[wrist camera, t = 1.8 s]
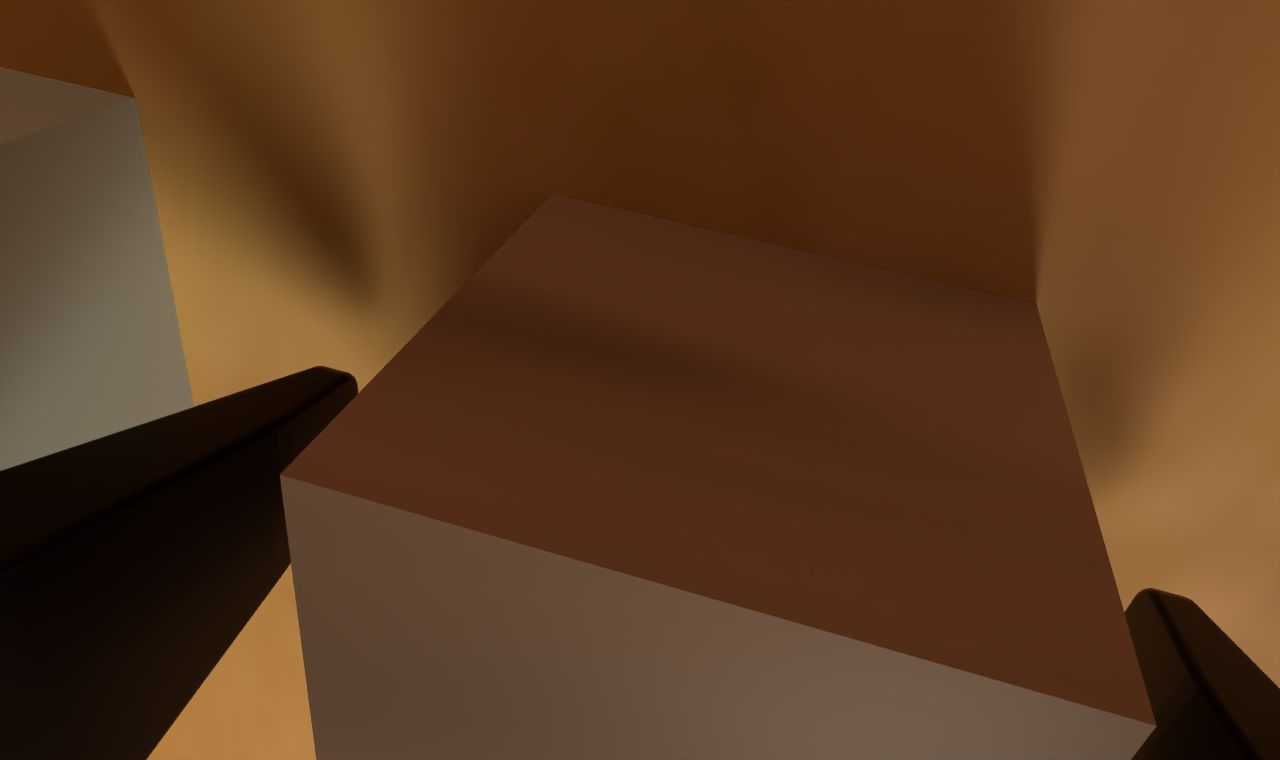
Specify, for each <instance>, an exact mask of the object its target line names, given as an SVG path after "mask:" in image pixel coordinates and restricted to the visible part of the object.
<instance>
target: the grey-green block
mask: <svg viewBox="0 0 1280 760" xmlns="http://www.w3.org/2000/svg"><path fill="white" fill-rule="evenodd" d="M192 407H194V403H193V398H192V393H191V388H190V382H189V377H188V372H187V366H186V361H185V356H184V351H183V345H182V340H181V335H180V330H179V324H178V319H177V314H176V309H175V303H174V298H173V293H172V287H171V282H170V277H169V272H168V266H167V261H166V256H165V251H164V245H163V240H162V235H161V229H160V224H159V219H158V214H157V208H156V203H155V198H154V193H153V187H152V182H151V177H150V172H149V166H148V161H147V156H146V150H145V145H144V140H143V135H142V129H141V124H140V119H139V114H138V108H137V103H136V98H134V97H130V96H125V95H121V94H117V93H112V92H108V91H103V90H99V89H95V88H90V87H86V86H82V85H77V84H73V83H68V82H64V81H60V80H55V79H51V78H47V77H42V76H38V75H33V74H29V73H25V72H20V71H16V70H12V69H7V68H3V67H0V471H1V470H4V469H7V468H10V467H13V466H16V465H19V464H22V463H25V462H28V461H31V460H34V459H38V458H41V457H44V456H47V455H50V454H53V453H56V452H59V451H62V450H65V449H68V448H71V447H74V446H77V445H80V444H83V443H86V442H89V441H92V440H95V439H98V438H101V437H104V436H107V435H110V434H113V433H116V432H119V431H122V430H125V429H128V428H131V427H134V426H137V425H140V424H143V423H146V422H149V421H152V420H155V419H159V418H162V417H165V416H168V415H171V414H174V413H177V412H180V411H183V410H186V409H189V408H192Z"/></svg>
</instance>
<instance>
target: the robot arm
mask: <svg viewBox="0 0 1280 760" xmlns="http://www.w3.org/2000/svg"><path fill="white" fill-rule="evenodd" d="M357 395H358V385H357V381H356V379H355V377H354V376H353V375H351V374H350V373H347V372H344V371H340V370H336V369H333V368H329V367H324V366H316V367H313V368H310V369H307V370H304V371H301V372H298V373H295V374H292V375H289V376H285V377H282V378H279V379H276V380H273V381H270V382H267V383H264V384H261V385H258V386H255V387H252V388H249V389H246V390H243V391H240V392H237V393H234V394H231V395H228V396H225V397H222V398H219V399H216V400H213V401H210V402H207V403H204V404H201V405H198V406H195V407H192V408H189V409H186V410H183V411H180V412H177V413H174V414H171V415H168V416H165V417H162V418H159V419H155V420H152V421H149V422H146V423H143V424H140V425H137V426H134V427H131V428H128V429H125V430H122V431H119V432H116V433H113V434H110V435H107V436H104V437H101V438H98V439H95V440H92V441H89V442H86V443H83V444H80V445H77V446H74V447H71V448H68V449H65V450H62V451H59V452H56V453H53V454H50V455H47V456H44V457H41V458H38V459H34V460H31V461H28V462H25V463H22V464H19V465H16V466H13V467H10V468H7V469H4V470H1V471H0V760H147V758H148V757H149V755H150V754H151V753H152V751H153V750H154V749H155V747H156V746H157V745H158V743H159V742H160V741H161V739H162V738H163V736H164V735H165V734H166V732H167V731H168V730H169V728H170V727H171V726H172V724H173V723H174V721H175V720H176V719H177V717H178V716H179V715H180V713H181V712H182V711H183V709H184V708H185V707H186V705H187V704H188V702H189V701H190V700H191V698H192V697H193V696H194V694H195V693H196V692H197V690H198V689H199V688H200V686H201V685H202V683H203V682H204V681H205V679H206V678H207V677H208V675H209V674H210V673H211V671H212V670H213V669H214V667H215V666H216V664H217V663H218V662H219V660H220V659H221V658H222V656H223V655H224V654H225V652H226V651H227V650H228V648H229V647H230V645H231V644H232V643H233V641H234V640H235V639H236V637H237V636H238V635H239V633H240V632H241V631H242V629H243V628H244V626H245V625H246V624H247V622H248V621H249V620H250V618H251V617H252V616H253V614H254V613H255V612H256V610H257V609H258V607H259V606H260V605H261V603H262V602H263V601H264V599H265V598H266V597H267V595H268V594H269V593H270V591H271V590H272V588H273V587H274V586H275V584H276V583H277V582H278V580H279V579H280V578H281V576H282V575H283V573H284V572H285V570H286V569H287V568H288V566H289V565H290V563H291V558H290V550H289V543H288V535H287V527H286V519H285V512H284V504H283V496H282V488H281V481H280V474H281V473H282V472H283V471H284V470H285V469H286V468H287V467H288V466H289V465H290V464H291V463H292V462H293V461H294V460H295V459H296V458H297V457H298V455H299V454H300V453H301V452H302V451H303V450H304V449H305V448H306V447H307V446H308V445H309V444H310V443H311V442H312V441H313V440H314V439H315V438H316V437H317V436H318V435H319V434H320V433H321V432H322V431H323V430H324V429H325V428H326V427H327V426H328V425H329V424H330V422H331V421H332V420H333V419H334V418H335V417H336V416H337V415H338V414H339V413H340V412H341V411H342V410H343V409H344V408H345V407H346V406H347V405H348V404H349V403H350V402H351V401H352V400H353V399H354V398H355V397H356V396H357ZM1124 614H1125V617H1126V621H1127V624H1128V628H1129V631H1130V635H1131V638H1132V642H1133V645H1134V649H1135V652H1136V656H1137V659H1138V663H1139V666H1140V670H1141V673H1142V677H1143V680H1144V684H1145V687H1146V691H1147V694H1148V698H1149V701H1150V705H1151V708H1152V712H1153V715H1154V719H1155V722H1156V728H1155V729H1154V730H1153V732H1152V733H1151V734H1150V735H1149V737H1148V738H1147V739H1146V741H1145V742H1144V743H1143V745H1142V746H1141V747H1140V749H1139V750H1138V751H1137V752H1136V754H1135V755H1134V756H1133V758H1132V759H1131V760H1280V688H1279V687H1278V686H1277V685H1276V684H1275V683H1274V682H1273V681H1272V680H1271V679H1270V678H1269V677H1268V676H1267V675H1266V674H1265V673H1264V672H1263V671H1262V670H1261V669H1260V668H1259V667H1258V666H1257V665H1256V664H1255V663H1254V662H1253V661H1252V660H1251V659H1250V658H1249V657H1248V656H1247V655H1246V654H1245V653H1244V652H1243V651H1242V650H1241V649H1240V648H1239V647H1238V646H1237V645H1236V644H1235V643H1234V642H1233V641H1232V640H1231V639H1230V638H1229V637H1228V636H1227V635H1226V634H1225V633H1224V632H1223V631H1222V630H1221V629H1220V628H1219V627H1218V626H1217V625H1216V624H1215V623H1214V622H1213V621H1212V620H1211V619H1210V618H1209V617H1208V616H1207V615H1206V614H1205V612H1204V611H1203V610H1202V609H1201V608H1200V607H1199V606H1198V605H1197V604H1195V603H1194V602H1193V601H1192V600H1190V599H1189V598H1186V597H1183V596H1180V595H1176V594H1172V593H1169V592H1165V591H1161V590H1157V589H1154V588H1148V589H1143V590H1142V591H1140V592H1139V593H1138V594H1137V595H1136V596H1135V597H1134V599H1133V600H1132V602H1131V603H1130V605H1129V606H1128V608H1127V610H1126V611H1125V613H1124Z"/></svg>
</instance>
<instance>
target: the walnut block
mask: <svg viewBox="0 0 1280 760" xmlns="http://www.w3.org/2000/svg"><path fill="white" fill-rule="evenodd" d="M280 481H281V488H282V496H283V504H284V512H285V519H286V527H287V535H288V543H289V550H290V558H291V566H292V574H293V581H294V589H295V597H296V605H297V612H298V620H299V628H300V636H301V643H302V651H303V659H304V667H305V674H306V682H307V690H308V698H309V705H310V713H311V721H312V729H313V736H314V744H315V752H316V760H1131V759H1132V758H1133V756H1134V755H1135V754H1136V752H1137V751H1138V750H1139V749H1140V747H1141V746H1142V745H1143V743H1144V742H1145V741H1146V739H1147V738H1148V737H1149V735H1150V734H1151V733H1152V732H1153V730H1154V729H1155V728H1156V722H1155V719H1154V715H1153V712H1152V708H1151V705H1150V701H1149V698H1148V694H1147V691H1146V687H1145V684H1144V680H1143V677H1142V673H1141V670H1140V666H1139V663H1138V659H1137V656H1136V652H1135V649H1134V645H1133V642H1132V638H1131V635H1130V631H1129V628H1128V624H1127V621H1126V617H1125V614H1124V610H1123V607H1122V603H1121V600H1120V596H1119V593H1118V589H1117V586H1116V582H1115V579H1114V575H1113V572H1112V568H1111V565H1110V561H1109V558H1108V554H1107V551H1106V547H1105V544H1104V540H1103V537H1102V533H1101V530H1100V526H1099V523H1098V519H1097V516H1096V512H1095V509H1094V505H1093V502H1092V498H1091V495H1090V491H1089V488H1088V484H1087V481H1086V477H1085V474H1084V470H1083V467H1082V463H1081V460H1080V456H1079V453H1078V449H1077V446H1076V442H1075V439H1074V435H1073V432H1072V428H1071V425H1070V421H1069V418H1068V414H1067V411H1066V407H1065V404H1064V400H1063V397H1062V393H1061V390H1060V386H1059V383H1058V379H1057V376H1056V372H1055V369H1054V365H1053V362H1052V358H1051V355H1050V351H1049V348H1048V344H1047V341H1046V337H1045V334H1044V330H1043V327H1042V323H1041V320H1040V316H1039V313H1038V309H1037V306H1036V304H1035V303H1031V302H1027V301H1022V300H1018V299H1014V298H1009V297H1005V296H1000V295H996V294H992V293H987V292H983V291H978V290H974V289H970V288H965V287H961V286H957V285H952V284H948V283H943V282H939V281H935V280H930V279H926V278H921V277H917V276H913V275H908V274H904V273H900V272H895V271H891V270H886V269H882V268H878V267H873V266H869V265H865V264H860V263H856V262H851V261H847V260H843V259H838V258H834V257H829V256H825V255H821V254H816V253H812V252H808V251H803V250H799V249H794V248H790V247H786V246H781V245H777V244H772V243H768V242H764V241H759V240H755V239H751V238H746V237H742V236H737V235H733V234H729V233H724V232H720V231H715V230H711V229H707V228H702V227H698V226H694V225H689V224H685V223H680V222H676V221H672V220H667V219H663V218H658V217H654V216H650V215H645V214H641V213H637V212H632V211H628V210H623V209H619V208H615V207H610V206H606V205H601V204H597V203H593V202H588V201H584V200H580V199H575V198H571V197H566V196H562V195H558V194H553V193H552V194H551V195H550V197H549V198H548V199H547V200H546V201H545V202H544V203H543V204H542V205H541V206H540V207H539V208H538V209H537V210H536V211H535V212H534V213H533V214H532V215H531V216H530V217H529V218H528V219H527V220H526V221H525V222H524V223H523V224H522V225H521V226H520V227H519V228H518V230H517V231H516V232H515V233H514V234H513V235H512V236H511V237H510V238H509V239H508V240H507V241H506V242H505V243H504V244H503V245H502V246H501V247H500V248H499V249H498V250H497V251H496V252H495V253H494V254H493V255H492V256H491V257H490V258H489V259H488V260H487V262H486V263H485V264H484V265H483V266H482V267H481V268H480V269H479V270H478V271H477V272H476V273H475V274H474V275H473V276H472V277H471V278H470V279H469V280H468V281H467V282H466V283H465V284H464V285H463V286H462V287H461V288H460V289H459V290H458V291H457V292H456V293H455V295H454V296H453V297H452V298H451V299H450V300H449V301H448V302H447V303H446V304H445V305H444V306H443V307H442V308H441V309H440V310H439V311H438V312H437V313H436V314H435V315H434V316H433V317H432V318H431V319H430V320H429V321H428V322H427V323H426V324H425V325H424V327H423V328H422V329H421V330H420V331H419V332H418V333H417V334H416V335H415V336H414V337H413V338H412V339H411V340H410V341H409V342H408V343H407V344H406V345H405V346H404V347H403V348H402V349H401V350H400V351H399V352H398V353H397V354H396V355H395V356H394V357H393V359H392V360H391V361H390V362H389V363H388V364H387V365H386V366H385V367H384V368H383V369H382V370H381V371H380V372H379V373H378V374H377V375H376V376H375V377H374V378H373V379H372V380H371V381H370V382H369V383H368V384H367V385H366V386H365V387H364V388H363V389H362V390H361V392H360V393H359V394H358V395H357V396H356V397H355V398H354V399H353V400H352V401H351V402H350V403H349V404H348V405H347V406H346V407H345V408H344V409H343V410H342V411H341V412H340V413H339V414H338V415H337V416H336V417H335V418H334V419H333V420H332V421H331V422H330V424H329V425H328V426H327V427H326V428H325V429H324V430H323V431H322V432H321V433H320V434H319V435H318V436H317V437H316V438H315V439H314V440H313V441H312V442H311V443H310V444H309V445H308V446H307V447H306V448H305V449H304V450H303V451H302V452H301V453H300V454H299V455H298V457H297V458H296V459H295V460H294V461H293V462H292V463H291V464H290V465H289V466H288V467H287V468H286V469H285V470H284V471H283V472H282V473H281V474H280Z"/></svg>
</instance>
